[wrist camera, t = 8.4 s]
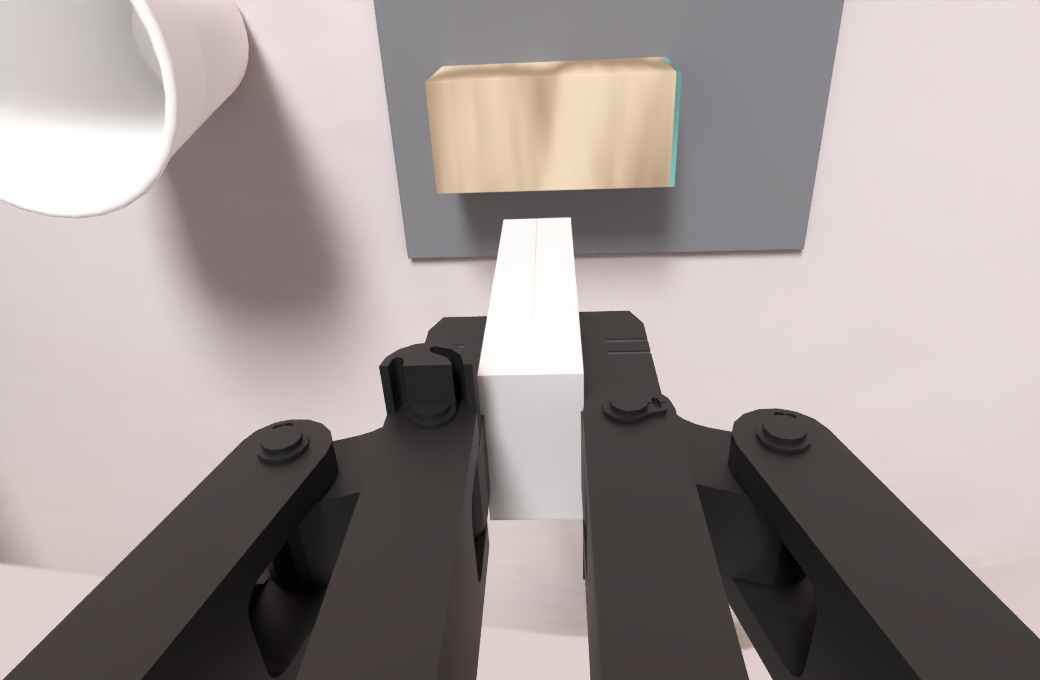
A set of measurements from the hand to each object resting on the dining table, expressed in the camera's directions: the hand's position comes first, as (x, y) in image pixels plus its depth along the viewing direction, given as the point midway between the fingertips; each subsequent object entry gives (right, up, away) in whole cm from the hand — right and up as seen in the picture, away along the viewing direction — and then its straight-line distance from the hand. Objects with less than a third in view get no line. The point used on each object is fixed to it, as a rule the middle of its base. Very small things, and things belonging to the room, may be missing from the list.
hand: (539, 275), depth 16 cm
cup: (-16, +13, +16) cm, 26 cm away
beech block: (+6, +8, +14) cm, 17 cm away
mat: (+3, +11, +15) cm, 19 cm away
